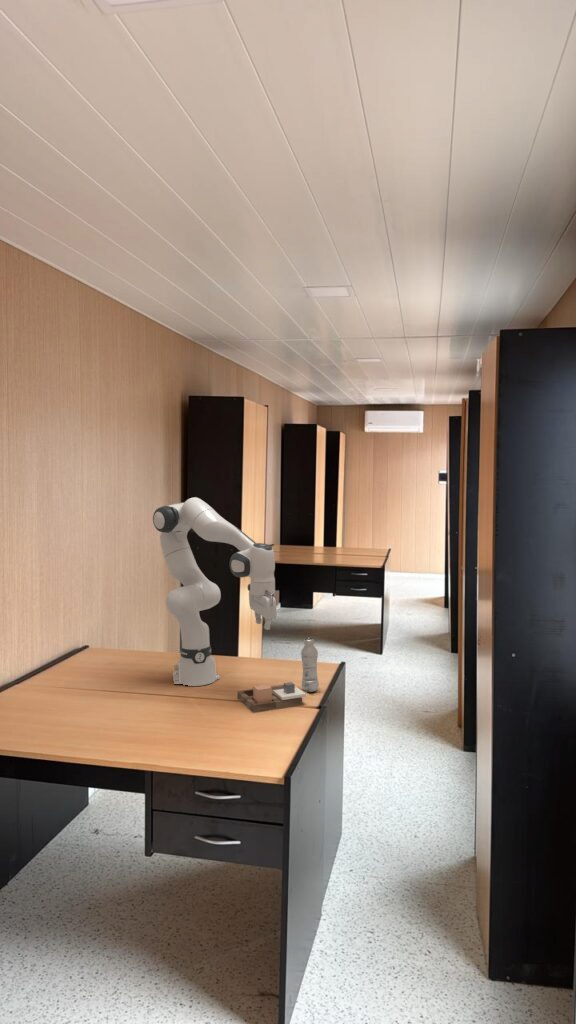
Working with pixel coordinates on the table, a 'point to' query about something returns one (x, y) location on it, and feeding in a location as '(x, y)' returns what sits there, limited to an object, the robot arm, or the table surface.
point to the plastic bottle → (309, 666)
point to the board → (276, 702)
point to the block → (262, 693)
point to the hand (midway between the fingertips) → (262, 626)
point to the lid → (289, 692)
